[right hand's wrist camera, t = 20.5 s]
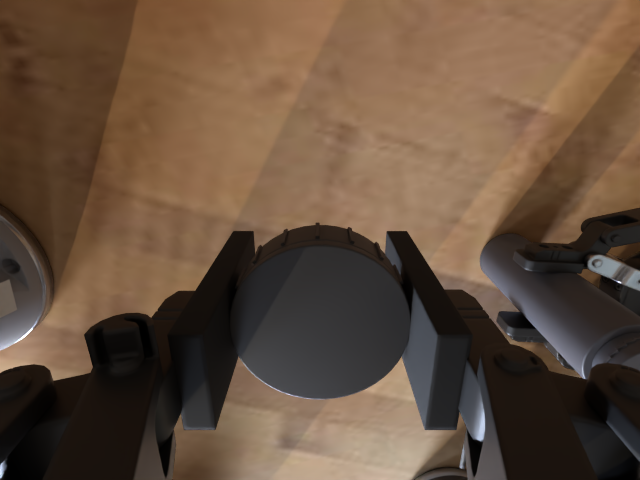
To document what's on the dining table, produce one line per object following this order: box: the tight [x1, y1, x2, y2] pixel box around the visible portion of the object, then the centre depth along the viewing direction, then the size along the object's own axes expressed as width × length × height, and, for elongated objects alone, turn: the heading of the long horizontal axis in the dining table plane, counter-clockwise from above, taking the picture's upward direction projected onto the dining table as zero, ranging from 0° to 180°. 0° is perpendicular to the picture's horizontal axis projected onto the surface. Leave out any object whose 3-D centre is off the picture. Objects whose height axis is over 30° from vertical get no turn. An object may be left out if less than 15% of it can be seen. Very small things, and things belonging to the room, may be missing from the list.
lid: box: [230, 223, 411, 399], centre depth 11 cm, size 5×5×2 cm
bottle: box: [480, 233, 640, 379], centre depth 25 cm, size 4×4×15 cm
